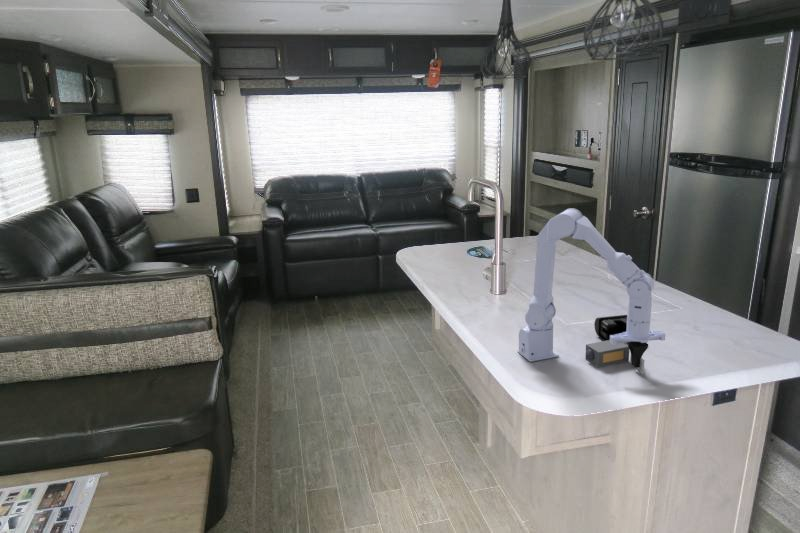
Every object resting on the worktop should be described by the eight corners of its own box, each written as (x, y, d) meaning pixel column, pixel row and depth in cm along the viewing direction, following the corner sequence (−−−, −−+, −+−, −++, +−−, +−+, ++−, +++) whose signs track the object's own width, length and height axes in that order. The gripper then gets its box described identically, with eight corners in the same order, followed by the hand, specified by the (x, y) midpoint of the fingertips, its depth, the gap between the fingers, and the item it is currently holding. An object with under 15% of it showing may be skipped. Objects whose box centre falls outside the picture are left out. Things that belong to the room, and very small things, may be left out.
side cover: (644, 374, 152) (645, 359, 151) (640, 374, 152) (641, 359, 151) (633, 360, 160) (633, 346, 159) (629, 360, 160) (630, 346, 159)
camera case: (595, 367, 157) (596, 351, 156) (583, 359, 163) (583, 343, 162) (628, 361, 160) (629, 344, 159) (615, 353, 166) (616, 337, 164)
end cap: (623, 331, 181) (624, 311, 179) (635, 340, 174) (636, 319, 172) (593, 334, 180) (594, 314, 178) (604, 343, 173) (605, 322, 171)
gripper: (619, 326, 146) (616, 374, 150) (673, 322, 147) (669, 370, 151) (607, 317, 153) (604, 363, 156) (658, 313, 154) (655, 358, 157)
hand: (635, 366), depth 154 cm, fingers closed, pressing on side cover
